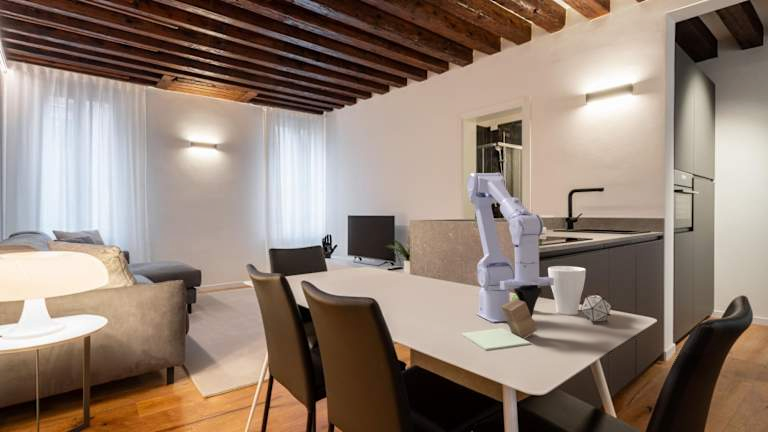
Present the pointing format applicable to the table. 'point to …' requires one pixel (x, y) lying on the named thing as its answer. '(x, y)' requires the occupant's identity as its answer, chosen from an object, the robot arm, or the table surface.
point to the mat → (495, 339)
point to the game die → (596, 308)
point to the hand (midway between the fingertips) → (528, 315)
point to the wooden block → (519, 318)
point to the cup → (567, 288)
